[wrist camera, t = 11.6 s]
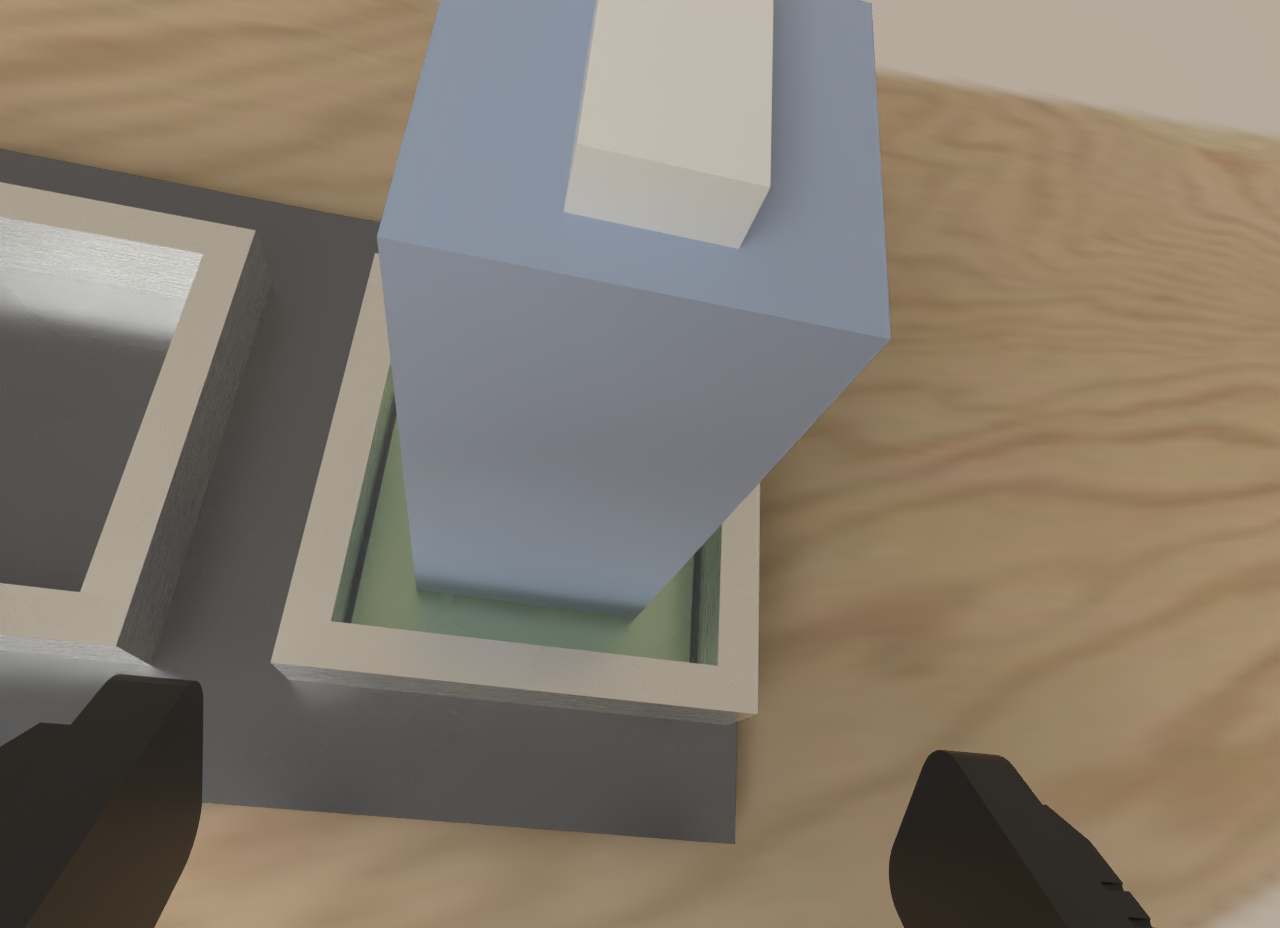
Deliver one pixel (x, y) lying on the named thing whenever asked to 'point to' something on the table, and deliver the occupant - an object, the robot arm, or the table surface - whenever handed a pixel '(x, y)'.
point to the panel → (308, 538)
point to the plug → (623, 279)
